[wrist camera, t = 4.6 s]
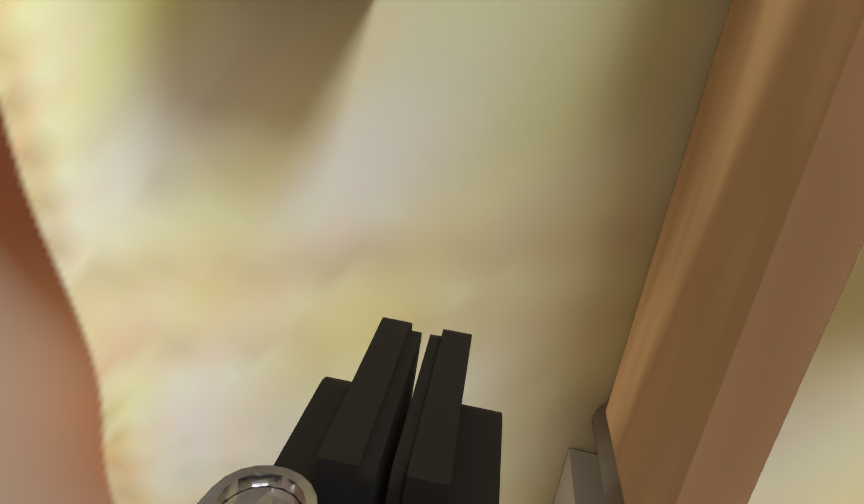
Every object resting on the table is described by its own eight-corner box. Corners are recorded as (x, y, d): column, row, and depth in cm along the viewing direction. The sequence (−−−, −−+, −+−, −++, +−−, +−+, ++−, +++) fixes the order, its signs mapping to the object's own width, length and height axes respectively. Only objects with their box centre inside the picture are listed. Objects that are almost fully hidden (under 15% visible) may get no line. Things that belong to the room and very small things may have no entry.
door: (809, -47, 13) (1045, -107, 7) (639, 449, 18) (694, 657, 12) (734, -58, 13) (906, -126, 7) (586, 439, 18) (616, 638, 12)
